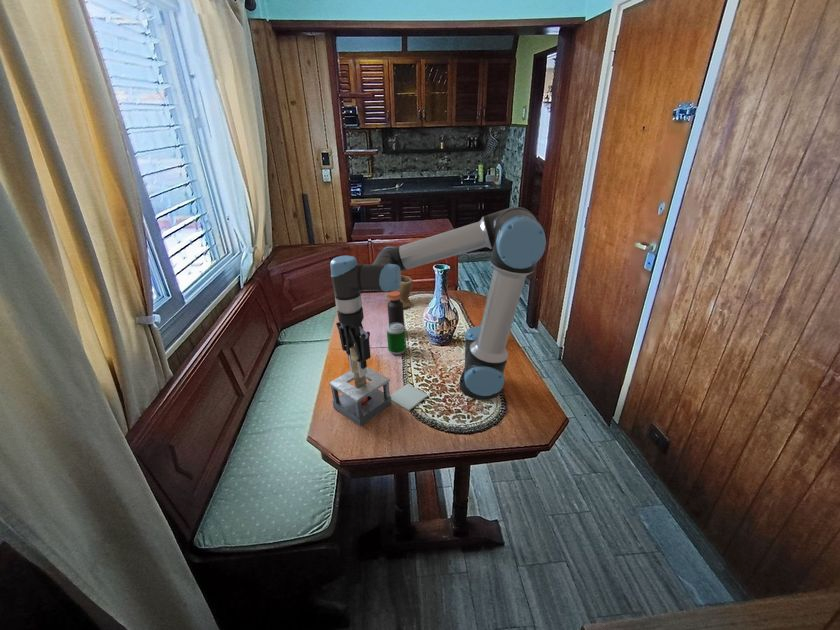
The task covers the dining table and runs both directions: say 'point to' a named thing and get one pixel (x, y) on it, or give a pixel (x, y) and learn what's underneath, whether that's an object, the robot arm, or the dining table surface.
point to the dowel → (356, 368)
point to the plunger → (364, 400)
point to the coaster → (408, 397)
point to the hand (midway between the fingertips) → (359, 372)
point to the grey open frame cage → (361, 396)
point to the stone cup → (404, 291)
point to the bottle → (395, 308)
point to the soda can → (396, 338)
